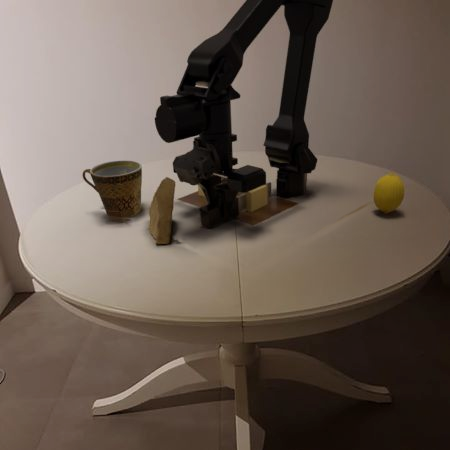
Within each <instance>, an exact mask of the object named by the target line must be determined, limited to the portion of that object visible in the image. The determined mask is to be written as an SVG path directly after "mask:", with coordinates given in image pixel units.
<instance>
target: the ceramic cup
mask: <svg viewBox="0 0 450 450" xmlns="http://www.w3.org/2000/svg"><path fill="white" fill-rule="evenodd" d="M142 168H143V167H142V164H141V163H140V162H138V161H134V160H113V161H107V162H102V163H100V164H97V165H95V166H93V167H92V168H86V169H84V170H83V171H82V178H83V181H85V183H86V184H87V185H89V186H90V187H92V188H93V190H95V191H96V192H97V193H98V195H99V198H100V200H101V203H102V205H103V207H104V210H105V213H106V216H107V218H108V220H110V222H114V223H115V222H117V223H126V222H129V221H131V219H129V218H131V217H134V216H136V215H138V214H139V212H141V211H142V184H143V170H142ZM86 173H88V174H89V175H90V177H91V180H92V182H90V181H89V180H88V179H87V177H86Z"/></svg>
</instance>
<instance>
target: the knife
mask: <svg viewBox="0 0 450 450" xmlns="http://www.w3.org/2000/svg"><path fill="white" fill-rule="evenodd" d="M265 185H267V186H268V198H269V197H271V195H272V182H270V181H269V182H266V184H265ZM244 209H246V193H244V194H242V195H240V196H238V197H236V198H235V200H234V202H233V205H232V207H231V209H230V212H229V214H228V216H227V217H225V218H224V217H222V212H221V205H220V199H219V200H217V201H215V202H212V203H210V204H208V205H206V206H203V207H199V216H200V217H199V219H200V225H201V227H204V228H207V229H213V228H214V227H217V226H218V225H220V224H222V223H224V222H228V221H229V220H230V219H232V218H233V217H235V216H237V215H239V212H240V211H242V210H244Z"/></svg>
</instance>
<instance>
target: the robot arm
mask: <svg viewBox="0 0 450 450" xmlns="http://www.w3.org/2000/svg"><path fill="white" fill-rule="evenodd" d="M333 2H334V0H245V1H244V2H243V4H242V5H241V6H240V7H239V8H238V10H237V11H236V12H235V14H233V16H232V17H231V18H230V20H229V21H228V22H227V23H226V24H225V26H224V27H223V28H222V29H221V30H220V31H219V32H217V33H215V34H214V35H212V36H209V37H208V38H206V39H205V40H203V41H201V43H199V44H198V45H197V46H196V47H195V48H193V49H192V50H191V52H190V53H189V55H188V57H187V59H186V63H187V66H186V68H185V71H184V73H183V75H182V78H181V80H180V82H179V84H178V87H177V90H176V94H174V95H163V96H160V97H159V103H160V105H159V106H158V107H157V108H156V111H155V117H154V124H155V128H156V131H157V134H158V136H159V137H160V138H161V140H162V141H164V142H165V143H166V144H171V143H175V142H178V141H183V140H186V139H190V138H193V141H192V145H193V146H192V149H191V150H189V151H187V152H185V153H183V154H180V155H176V156H175V157H174V159H173V161H172V169H173V170H172V171H173V173H175V174H176V175H177V178H178V180H179V182H181V183H186V184H189V185H190V186H198V185H199V186H200V187H201V189H202V191H203V193H204V195H205V197H206V200H207V202H208V204H210V203H212V202H215V201H217V200H219V199H220V205H221V212H222V217H224V218H225V217H227V216H228V214H229V212H230V209H231V207H232V205H233V202H234V200H235V198H236V196H237V194H238V192H241V193H246V192H249V191H251V190H253V189H256V188H258V187H261V186H263V185H265V184H267V172H266V171H265V169H263V168H262V167H258V166H255V165H250V164H246V165H244V166H241V167H238V168H233V167H234V166H236V165H239V162H238V161H239V159H238V158H237V157H234V156H233V155H234V154H233V152H234V151H233V143H234V142H237V141H238V135H237V134H235V133H233V129H232V125H233V124H232V102H231V101H235V100H239V99H241V94H240V92H238V91H237V90H236V89H235V88H234V86H233V85H232V84H233V83H234V81H235V79H236V78H237V76H238V74H239V73H240V71H241V69H242V68H243V64H244V55H245V53H246V52H247V49H248V48H249V47H250V46H251V45H252V43H253V42H254V41H255V39H256V38H257V37H258V36H259V34H260V33H261V32H262V31H263V29H264V28H265V27H266V26H267V24H268V23H269V22H270V21H271V19H272V18H273V17H274V15H275V14H276V13H277V12H278V10H279V9H280V8H281V7H283V17H284V20H285V22H286V26H287V28H288V31H289V35H288V36H289V37H288V44H287V52H286V58H285V68H284V75H283V81H282V89H281V95H280V102H279V103H280V104H279V111H278V116H277V118H276V119H275V121H274V122H273V124H267V126H266V128H265V139H264V142H263V147H265V149H264V153H265V155H266V157H267V160H268V163H269V167H270V168H276V169H277V170H276V179H275V180H276V181H275V182H276V183H275V184H276V185H275V186H276V187H275V188H276V189H275V197H279V198H282V199H286V200H288V199H291V198H298V197H302V196H304V195H305V194H306V191H307V182H308V174H312V172H313V171H315V170H316V167H317V164H318V157H316V155H315V154H314V153H313V152H312V150H311V149H310V147H309V146H310V145H309V144H310V132H309V130H308V128H307V124H306V121H305V114H306V109H307V102H308V95H309V90H310V89H309V88H310V82H311V76H312V71H313V70H312V69H313V63H314V58H315V52H316V51H315V50H316V44H317V40H318V39H317V38H318V35H319V34H320V32H321V30H322V29H323V28H324V26H325V25H326V23H327V21H328V20H329V18H330V13H331V10H332V6H333Z"/></svg>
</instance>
